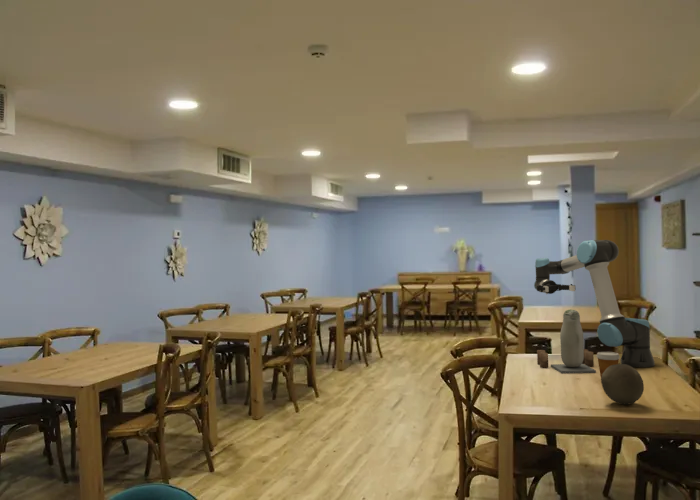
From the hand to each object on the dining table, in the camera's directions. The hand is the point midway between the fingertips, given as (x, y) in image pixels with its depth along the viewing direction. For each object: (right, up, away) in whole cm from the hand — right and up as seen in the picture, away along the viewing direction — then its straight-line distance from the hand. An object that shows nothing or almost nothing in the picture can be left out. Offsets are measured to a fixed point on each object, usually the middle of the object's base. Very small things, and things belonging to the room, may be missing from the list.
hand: (561, 289), depth 297 cm
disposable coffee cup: (+5, -38, -43) cm, 58 cm away
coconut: (-7, -38, -83) cm, 91 cm away
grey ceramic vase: (-1, -37, -19) cm, 41 cm away
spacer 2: (-13, -38, -12) cm, 42 cm away
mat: (-1, -38, -19) cm, 42 cm away
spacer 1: (-11, -38, -4) cm, 40 cm away
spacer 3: (+10, -38, -4) cm, 39 cm away
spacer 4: (+10, -38, -11) cm, 41 cm away
